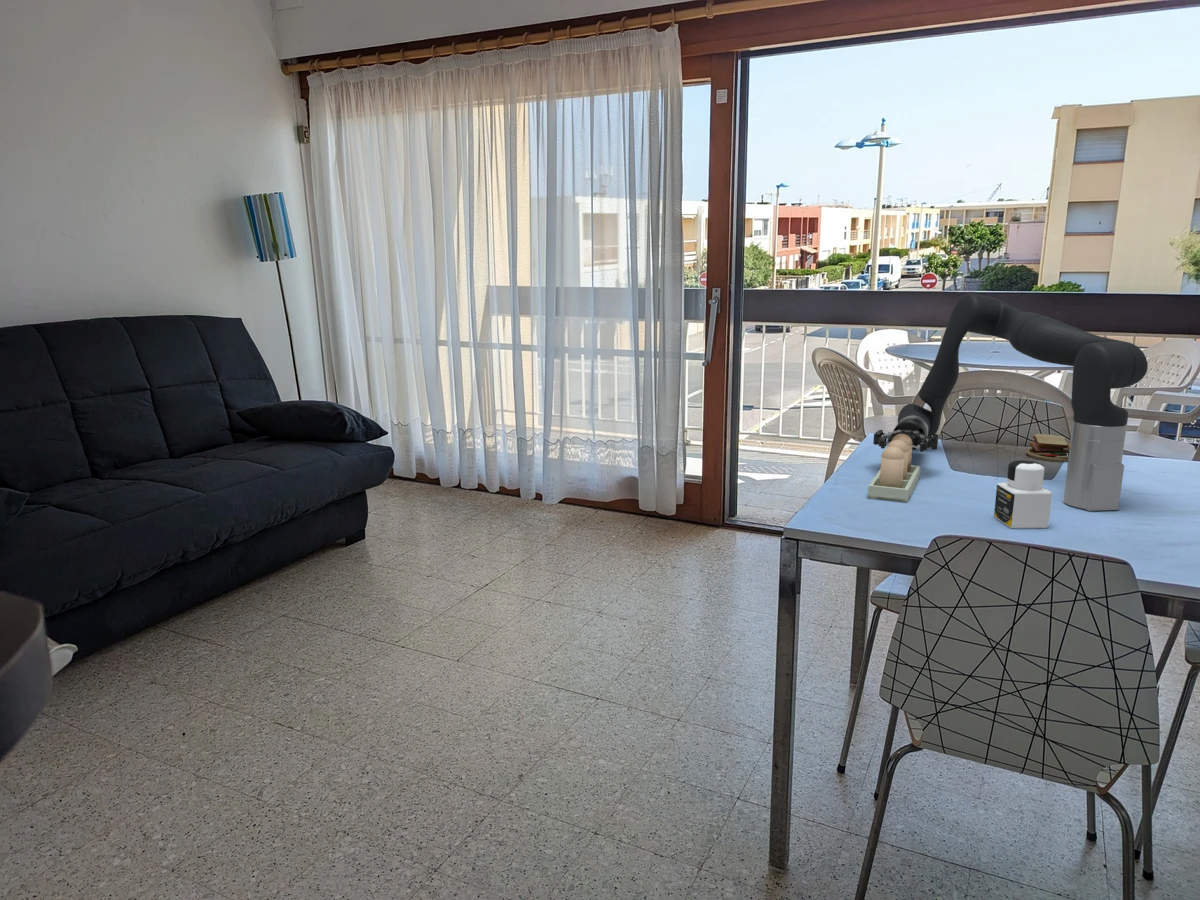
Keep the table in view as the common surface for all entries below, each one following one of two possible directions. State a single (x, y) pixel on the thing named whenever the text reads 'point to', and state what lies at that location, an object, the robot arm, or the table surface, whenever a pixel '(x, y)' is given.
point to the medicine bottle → (1023, 497)
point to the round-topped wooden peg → (909, 443)
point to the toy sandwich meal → (1049, 448)
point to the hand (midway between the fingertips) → (902, 446)
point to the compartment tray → (894, 475)
